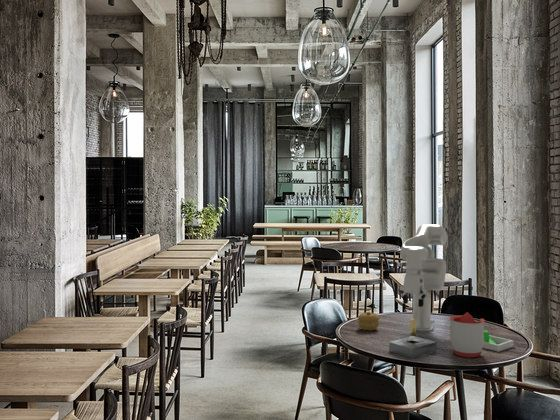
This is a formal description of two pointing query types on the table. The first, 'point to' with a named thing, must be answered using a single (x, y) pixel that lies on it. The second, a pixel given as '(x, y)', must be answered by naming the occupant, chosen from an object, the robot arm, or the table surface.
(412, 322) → the brass pin
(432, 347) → the base block
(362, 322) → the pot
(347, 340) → the table surface
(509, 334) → the table surface
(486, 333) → the mechanical part
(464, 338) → the citrus juicer
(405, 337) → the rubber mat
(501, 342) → the frame
